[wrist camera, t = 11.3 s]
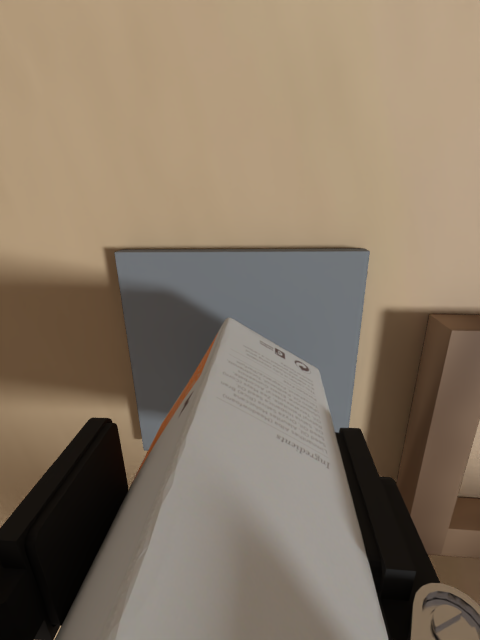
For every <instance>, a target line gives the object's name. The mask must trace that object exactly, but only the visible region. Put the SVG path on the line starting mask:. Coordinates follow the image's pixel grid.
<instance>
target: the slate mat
mask: <svg viewBox="0 0 480 640" xmlns="http://www.w3.org/2000/svg"><path fill="white" fill-rule="evenodd" d="M369 253H370V251H368V250H366V249H161V250H120V251H117V252H115V259H116V266H117V272H118V279H119V286H120V293H121V299H122V306H123V313H124V320H125V326H126V333H127V340H128V347H129V353H130V360H131V367H132V374H133V380H134V387H135V394H136V401H137V407H138V414H139V421H140V428H141V434H142V441H143V448H144V450H147V451H148V450H149V448H150V446H151V444H152V442H153V440H154V438H155V436H156V434H157V432H158V430H159V428H160V426H161V424H162V422H163V420H164V419H165V417H166V416H167V414H168V413H169V411H170V410H171V408H172V407H173V405H174V404H175V402H176V400H177V399H178V397H179V396H180V394H181V393H182V391H183V390H184V388H185V387H186V385H187V384H188V382H189V380H190V379H191V377H192V375H193V374H194V372H195V371H196V369H197V367H198V366H199V364H200V362H201V360H202V359H203V357H204V355H205V354H206V352H207V350H208V349H209V347H210V345H211V343H212V342H213V340H214V338H215V337H216V335H217V333H218V331H219V330H220V328H221V326H222V324H223V323H224V321H225V319H227V318H232V319H234V320H236V321H237V322H239V323H241V324H242V325H244V326H246V327H247V328H249V329H251V330H252V331H254V332H256V333H257V334H259V335H261V336H262V337H264V338H266V339H268V340H269V341H271V342H273V343H274V344H276V345H278V346H279V347H281V348H283V349H285V350H286V351H288V352H290V353H292V354H293V355H295V356H297V357H298V358H300V359H302V360H304V361H305V362H307V363H309V364H310V365H312V366H314V367H316V368H317V369H318V370H319V372H320V376H321V380H322V384H323V387H324V391H325V395H326V399H327V403H328V407H329V410H330V414H331V418H332V422H333V426H334V431H335V432H338V433H339V430H340V428H349V420H350V412H351V404H352V395H353V387H354V379H355V370H356V362H357V353H358V345H359V337H360V328H361V320H362V312H363V303H364V295H365V287H366V278H367V270H368V261H369Z"/></svg>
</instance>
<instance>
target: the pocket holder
mask: <svg viewBox="0 0 480 640" xmlns="http://www.w3.org/2000/svg"><path fill="white" fill-rule="evenodd" d="M479 420H480V315H459V314H429V319H428V324H427V329H426V335H425V340H424V345H423V350H422V355H421V360H420V365H419V370H418V376H417V381H416V386H415V391H414V396H413V401H412V406H411V411H410V417H409V422H408V427H407V432H406V437H405V442H404V447H403V452H402V458H401V463H400V468H399V473H398V478H397V483H396V484H397V486H398V489H399V491H400V493H401V496H402V498H403V500H404V502H405V505H406V507H407V509H408V511H409V514H410V516H411V518H412V520H413V523H414V525H415V527H416V529H417V532H418V534H419V536H420V539H421V541H422V543H423V545H424V548H425V550H426V552H427V554H428V555H442V556H456V557H470V558H480V499H477V498H459V497H458V493H459V490H460V486H461V483H462V479H463V476H464V472H465V469H466V465H467V462H468V458H469V455H470V451H471V448H472V444H473V441H474V437H475V434H476V430H477V427H478V423H479Z"/></svg>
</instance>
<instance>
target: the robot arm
mask: <svg viewBox="0 0 480 640" xmlns="http://www.w3.org/2000/svg"><path fill="white" fill-rule="evenodd" d="M335 434H336V438H337V442H338V446H339V449H340V453H341V457H342V461H343V465H344V469H345V472H346V476H347V480H348V484H349V488H350V492H351V495H352V499H353V503H354V507H355V511H356V515H357V519H358V522H359V526H360V530H361V534H362V538H363V542H364V546H365V551H366V554H367V558H368V562H369V565H370V569H371V573H372V577H373V581H374V585H375V589H376V593H377V597H378V601H379V605H380V609H381V612H382V616H383V620H384V623H385V627H386V631H387V635H388V640H480V605H479V604H477V603H476V602H475V601H474V600H473V599H472V598H470V597H469V596H468V595H467V594H465V593H463V592H461V591H460V590H458V589H456V588H455V587H452V586H449V585H446V584H443V583H440V581H439V579H438V577H437V575H436V572H435V570H434V568H433V566H432V563H431V561H430V559H429V557H428V554H427V552H426V550H425V548H424V545H423V543H422V541H421V539H420V536H419V534H418V532H417V529H416V527H415V525H414V523H413V520H412V518H411V516H410V514H409V511H408V509H407V507H406V505H405V502H404V500H403V498H402V496H401V493H400V491H399V489H398V486H397V484H396V483H395V481H394V480H393V479H392V478H390V477H379V475H378V472H377V470H376V467H375V464H374V462H373V459H372V457H371V454H370V452H369V449H368V447H367V444H366V442H365V439H364V436H363V434H362V431H361V429H359V428H340V430H339V433H338V432H335ZM127 493H128V484H127V478H126V472H125V467H124V461H123V456H122V450H121V444H120V439H119V433H118V428H117V425H116V424H115V423H112V420H111V419H109V418H91V419H89V420H88V422H87V423H86V424H85V425H84V426H83V428H82V429H81V430H80V431H79V433H78V434H77V435H76V436H75V438H74V439H73V440H72V441H71V443H70V444H69V445H68V446H67V447H66V449H65V450H64V451H63V452H62V454H61V455H60V456H59V457H58V459H57V460H56V461H55V462H54V463H53V465H52V466H51V467H50V468H49V469H48V470H47V472H46V473H45V474H44V475H43V476H42V478H41V479H40V480H39V481H38V483H37V484H36V485H35V486H34V488H33V489H32V490H31V491H30V492H29V494H28V495H27V496H26V497H25V499H24V500H23V501H22V502H21V504H20V505H19V506H18V507H17V508H16V510H15V511H14V512H13V513H12V515H11V516H10V517H9V518H8V520H7V521H6V522H5V523H4V524H3V526H2V527H1V528H0V640H53V639H54V637H55V635H56V633H57V631H58V629H59V627H60V625H61V626H62V624H63V622H64V620H65V618H66V616H67V614H68V612H69V610H70V608H71V606H72V604H73V602H74V600H75V598H76V596H77V594H78V592H79V590H80V588H81V586H82V583H83V581H84V579H85V577H86V575H87V573H88V571H89V569H90V567H91V565H92V563H93V561H94V559H95V557H96V555H97V553H98V551H99V549H100V547H101V545H102V543H103V541H104V539H105V537H106V535H107V533H108V531H109V529H110V527H111V525H112V523H113V521H114V519H115V517H116V515H117V513H118V511H119V509H120V507H121V505H122V503H123V501H124V499H125V497H126V495H127Z"/></svg>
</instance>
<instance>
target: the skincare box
mask: <svg viewBox="0 0 480 640" xmlns="http://www.w3.org/2000/svg"><path fill="white" fill-rule="evenodd" d="M55 640H388V635H387V631H386V627H385V623H384V620H383V616H382V612H381V609H380V605H379V601H378V597H377V593H376V589H375V585H374V581H373V577H372V573H371V569H370V565H369V562H368V558H367V554H366V551H365V546H364V542H363V538H362V534H361V530H360V526H359V522H358V519H357V515H356V511H355V507H354V503H353V499H352V495H351V492H350V488H349V484H348V480H347V476H346V472H345V469H344V465H343V461H342V457H341V453H340V449H339V446H338V442H337V438H336V434H335V431H334V426H333V422H332V418H331V414H330V410H329V407H328V403H327V399H326V395H325V391H324V387H323V384H322V380H321V376H320V372H319V370H318V369H317V368H316V367H314V366H312V365H310V364H309V363H307V362H305V361H304V360H302V359H300V358H298V357H297V356H295V355H293V354H292V353H290V352H288V351H286V350H285V349H283V348H281V347H279V346H278V345H276V344H274V343H273V342H271V341H269V340H268V339H266V338H264V337H262V336H261V335H259V334H257V333H256V332H254V331H252V330H251V329H249V328H247V327H246V326H244V325H242V324H241V323H239V322H237V321H236V320H234V319H232V318H227V319H225V321H224V323H223V324H222V326H221V328H220V330H219V331H218V333H217V335H216V337H215V338H214V340H213V342H212V343H211V345H210V347H209V349H208V350H207V352H206V354H205V355H204V357H203V359H202V360H201V362H200V364H199V366H198V367H197V369H196V371H195V372H194V374H193V375H192V377H191V379H190V380H189V382H188V384H187V385H186V387H185V388H184V390H183V391H182V393H181V394H180V396H179V397H178V399H177V400H176V402H175V404H174V405H173V407H172V408H171V410H170V411H169V413H168V414H167V416H166V417H165V419H164V420H163V422H162V424H161V426H160V428H159V430H158V432H157V434H156V436H155V438H154V440H153V442H152V444H151V446H150V448H149V450H148V452H147V454H146V456H145V458H144V460H143V462H142V464H141V466H140V468H139V470H138V472H137V474H136V476H135V478H134V480H133V482H132V484H131V486H130V488H129V491H128V493H127V495H126V497H125V499H124V501H123V503H122V505H121V507H120V509H119V511H118V513H117V515H116V517H115V519H114V521H113V523H112V525H111V527H110V529H109V531H108V533H107V535H106V537H105V539H104V541H103V543H102V545H101V547H100V549H99V551H98V553H97V555H96V557H95V559H94V561H93V563H92V565H91V567H90V569H89V571H88V573H87V575H86V577H85V579H84V581H83V583H82V586H81V588H80V590H79V592H78V594H77V596H76V598H75V600H74V602H73V604H72V606H71V608H70V610H69V612H68V614H67V616H66V618H65V620H64V622H63V624H62V626H61V628H60V630H59V632H58V634H57V636H56V638H55Z"/></svg>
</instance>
